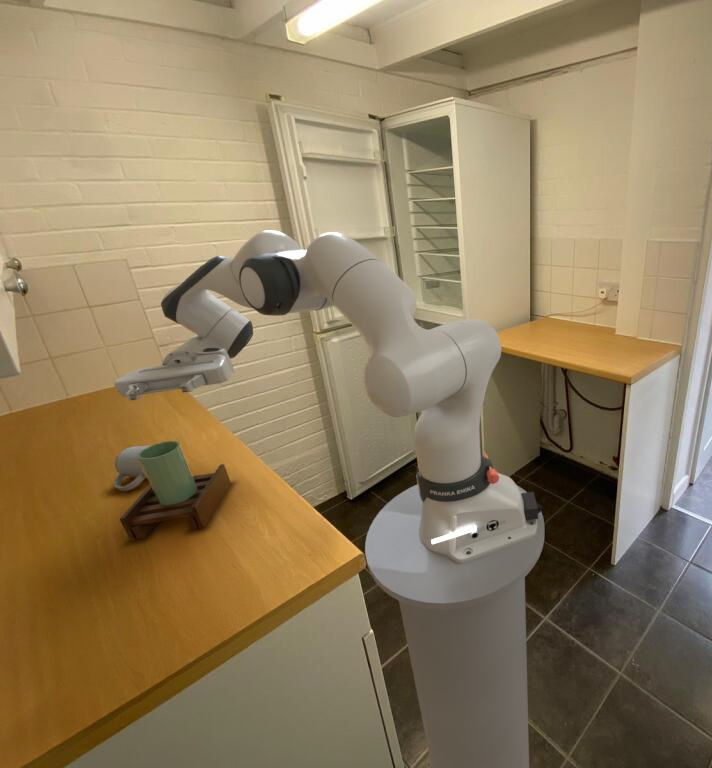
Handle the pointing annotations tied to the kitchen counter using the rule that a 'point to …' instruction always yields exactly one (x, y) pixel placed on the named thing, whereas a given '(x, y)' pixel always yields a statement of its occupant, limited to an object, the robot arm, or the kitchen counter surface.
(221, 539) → the kitchen counter surface
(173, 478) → the tumbler
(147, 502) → the rack
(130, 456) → the ceramic mug
